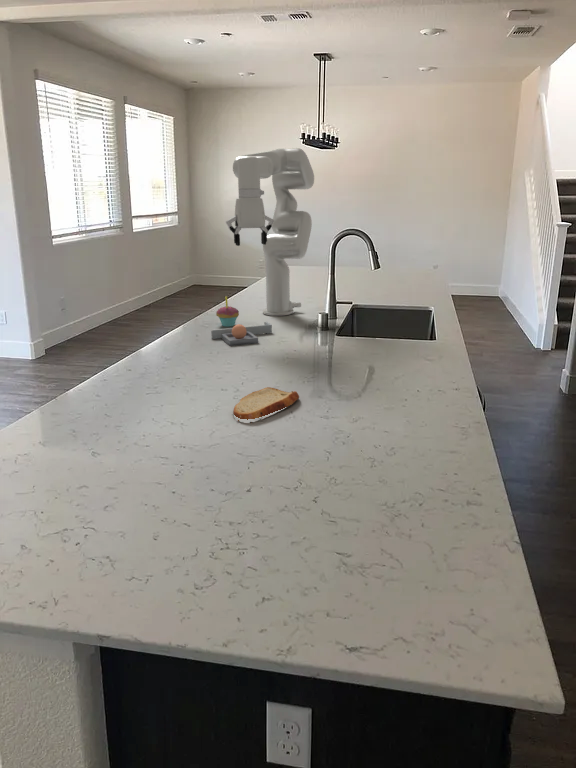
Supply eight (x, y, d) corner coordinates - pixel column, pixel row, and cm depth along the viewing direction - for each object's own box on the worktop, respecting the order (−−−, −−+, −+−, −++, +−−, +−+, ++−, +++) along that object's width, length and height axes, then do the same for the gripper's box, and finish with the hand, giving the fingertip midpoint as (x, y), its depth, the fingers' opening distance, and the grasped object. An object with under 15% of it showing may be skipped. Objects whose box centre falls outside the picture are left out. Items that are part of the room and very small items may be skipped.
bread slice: (236, 426, 146) (236, 410, 145) (225, 400, 163) (224, 386, 161) (312, 419, 150) (312, 403, 149) (293, 394, 167) (293, 380, 165)
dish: (249, 336, 225) (249, 331, 224) (258, 343, 216) (258, 337, 215) (221, 339, 221) (221, 334, 221) (229, 345, 212) (229, 340, 212)
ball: (244, 335, 221) (243, 321, 220) (248, 339, 217) (247, 325, 215) (230, 338, 220) (229, 323, 218) (234, 341, 215) (233, 327, 214)
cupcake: (238, 327, 238) (237, 295, 234) (215, 327, 238) (213, 295, 234) (240, 322, 246) (239, 291, 242) (218, 322, 246) (216, 291, 242)
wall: (266, 329, 234) (266, 321, 233) (271, 333, 229) (271, 324, 228) (207, 335, 227) (207, 326, 226) (212, 338, 222) (211, 330, 221)
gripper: (269, 193, 228) (270, 242, 233) (222, 194, 222) (224, 245, 227) (276, 194, 221) (277, 244, 226) (228, 195, 215) (230, 247, 220)
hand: (250, 244), depth 227 cm, fingers open, 9 cm apart
